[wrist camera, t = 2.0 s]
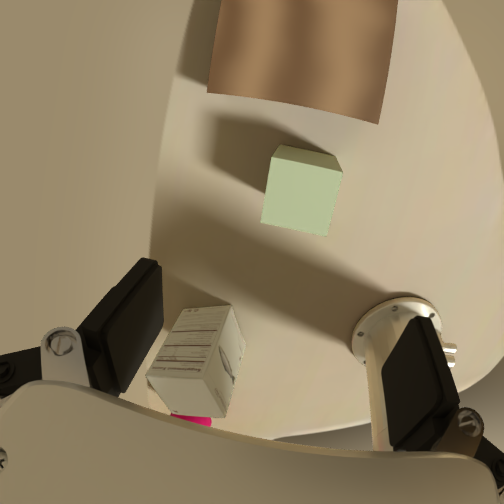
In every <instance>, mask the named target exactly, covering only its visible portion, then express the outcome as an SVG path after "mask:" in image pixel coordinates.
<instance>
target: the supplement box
mask: <svg viewBox="0 0 504 504" xmlns="http://www.w3.org/2000/svg"><path fill="white" fill-rule="evenodd" d="M245 347H246V344H245V341H244V339H243V337H242V334H241V332H240V329H239V326H238V323H237V320H236V318H235V315H234V311H233V308H232V305H224V306H212V307H200V308H188V309H183V310H182V312H181V314H180V315H179V317H178V319H177V321H176V322H175V324H174V326H173V328H172V329H171V331H170V333H169V334H168V336H167V338H166V340H165V341H164V343H163V345H162V347H161V349H160V350H159V352H158V354H157V356H156V357H155V359H154V361H153V363H152V365H151V366H150V368H149V370H148V372H147V373H146V375H145V376H146V378H147V379H148V381H149V382H150V384H151V385H152V387H153V388H154V389H155V391H156V392H157V394H158V395H159V397H160V398H161V399H162V401H163V402H164V403H165V405H166V406H167V407H168V409H169V410H170V411H171V413H172V414H177V415H186V416H199V417H213V418H225V417H226V413H227V410H228V406H229V403H230V399H231V396H232V392H233V389H234V385H235V382H236V379H237V375H238V372H239V368H240V365H241V361H242V358H243V354H244V351H245Z"/></svg>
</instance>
